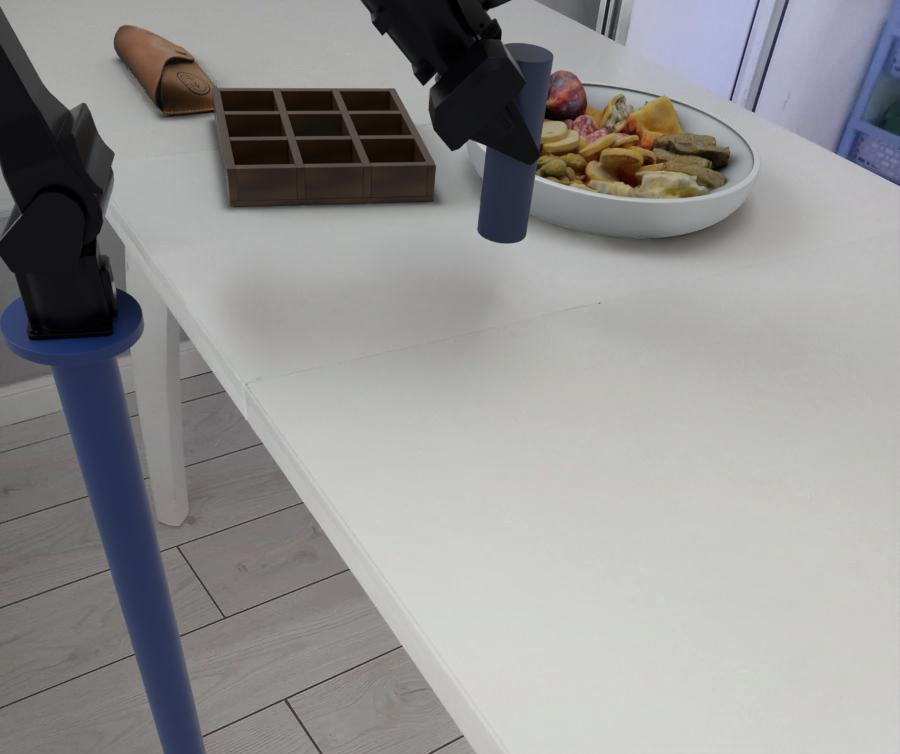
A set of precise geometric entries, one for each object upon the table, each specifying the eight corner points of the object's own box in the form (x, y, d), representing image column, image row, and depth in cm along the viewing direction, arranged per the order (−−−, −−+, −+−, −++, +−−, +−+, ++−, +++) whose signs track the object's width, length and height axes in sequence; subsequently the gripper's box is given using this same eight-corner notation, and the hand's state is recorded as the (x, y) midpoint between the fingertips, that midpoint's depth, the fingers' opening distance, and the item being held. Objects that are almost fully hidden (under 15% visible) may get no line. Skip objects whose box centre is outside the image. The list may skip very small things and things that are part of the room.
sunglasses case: (234, 104, 98) (197, 48, 93) (184, 144, 99) (144, 91, 93) (184, 49, 108) (148, -4, 103) (139, 86, 109) (101, 35, 103)
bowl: (792, 192, 97) (820, 115, 91) (652, 287, 80) (676, 200, 74) (566, 106, 108) (579, 33, 102) (403, 174, 91) (407, 91, 85)
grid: (230, 206, 84) (226, 168, 81) (215, 122, 96) (211, 87, 93) (433, 201, 88) (436, 164, 85) (393, 121, 100) (395, 88, 98)
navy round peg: (488, 246, 70) (511, 63, 61) (469, 222, 73) (488, 43, 63) (534, 241, 71) (563, 61, 62) (513, 218, 74) (538, 41, 64)
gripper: (512, -106, 48) (654, 120, 58) (467, -169, 60) (591, 27, 70) (364, 49, 53) (519, 234, 63) (350, -39, 65) (482, 128, 75)
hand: (530, 148), depth 67 cm, fingers closed on navy round peg, 4 cm apart
